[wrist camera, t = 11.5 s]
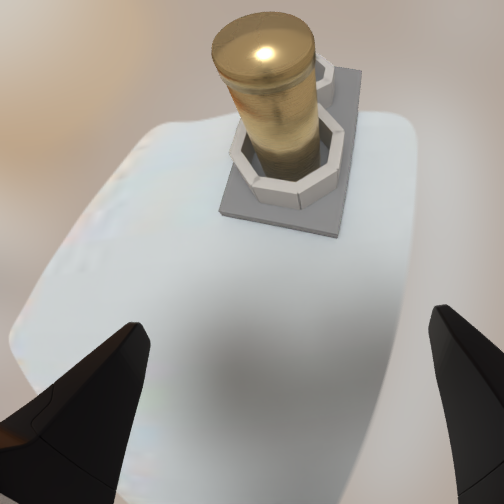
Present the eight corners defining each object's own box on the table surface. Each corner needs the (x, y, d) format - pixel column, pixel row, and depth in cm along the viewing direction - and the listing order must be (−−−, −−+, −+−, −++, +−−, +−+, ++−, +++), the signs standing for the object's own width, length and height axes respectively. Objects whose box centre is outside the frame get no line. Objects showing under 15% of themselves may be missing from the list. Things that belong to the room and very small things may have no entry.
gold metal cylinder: (301, 200, 23) (278, 86, 11) (249, 172, 24) (189, 59, 12) (332, 152, 23) (331, 24, 11) (281, 127, 25) (247, 4, 13)
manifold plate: (337, 238, 23) (340, 221, 19) (222, 215, 25) (205, 196, 21) (361, 77, 25) (363, 47, 21) (269, 67, 28) (261, 38, 24)
